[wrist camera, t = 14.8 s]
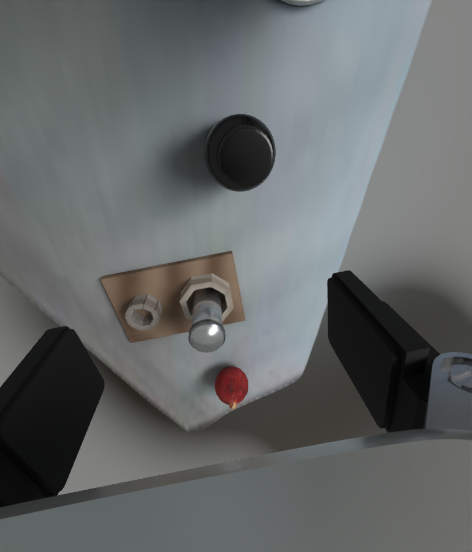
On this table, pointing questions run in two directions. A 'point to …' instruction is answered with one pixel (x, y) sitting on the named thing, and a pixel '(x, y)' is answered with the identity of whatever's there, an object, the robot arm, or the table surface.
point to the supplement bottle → (240, 152)
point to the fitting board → (172, 295)
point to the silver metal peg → (207, 321)
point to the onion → (231, 386)
